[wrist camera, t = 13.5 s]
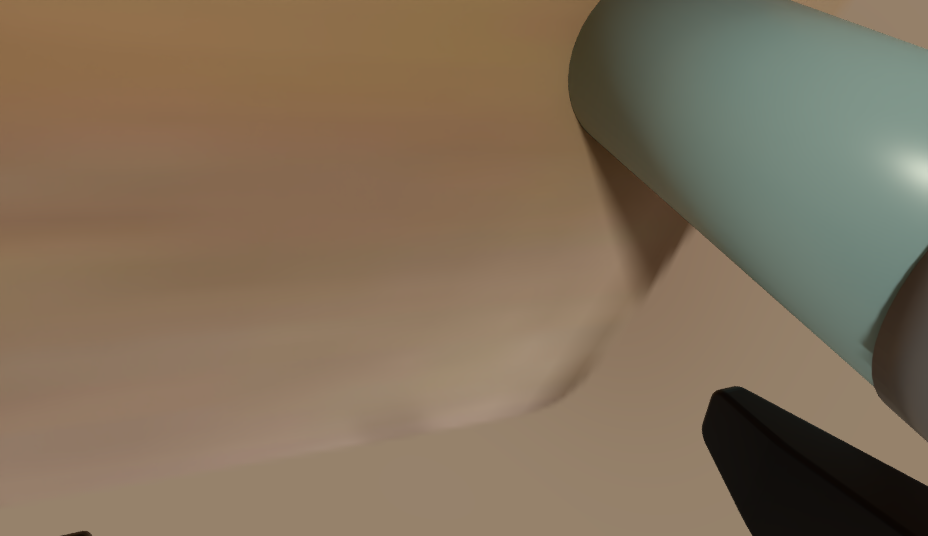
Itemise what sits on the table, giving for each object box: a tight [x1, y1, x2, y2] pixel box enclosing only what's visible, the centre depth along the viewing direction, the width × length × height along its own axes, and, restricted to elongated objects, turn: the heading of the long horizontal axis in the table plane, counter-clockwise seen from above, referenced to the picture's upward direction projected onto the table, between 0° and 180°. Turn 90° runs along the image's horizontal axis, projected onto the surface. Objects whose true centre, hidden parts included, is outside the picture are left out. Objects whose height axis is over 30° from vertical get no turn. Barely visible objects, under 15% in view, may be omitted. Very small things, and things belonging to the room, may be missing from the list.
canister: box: [568, 0, 928, 442], centre depth 17 cm, size 6×6×14 cm
